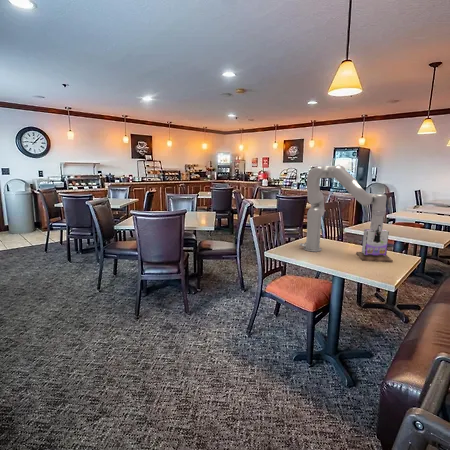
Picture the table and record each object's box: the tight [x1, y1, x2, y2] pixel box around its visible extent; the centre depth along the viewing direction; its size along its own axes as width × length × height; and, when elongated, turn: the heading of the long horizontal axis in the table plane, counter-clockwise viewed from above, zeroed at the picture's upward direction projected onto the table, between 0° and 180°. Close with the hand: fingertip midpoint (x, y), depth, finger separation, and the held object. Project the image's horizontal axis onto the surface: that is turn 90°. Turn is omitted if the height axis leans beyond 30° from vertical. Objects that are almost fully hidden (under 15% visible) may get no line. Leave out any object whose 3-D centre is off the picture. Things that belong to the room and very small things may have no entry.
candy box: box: [361, 228, 390, 255], centre depth 197 cm, size 14×6×16 cm, turn 84°
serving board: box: [355, 251, 393, 263], centre depth 198 cm, size 18×16×2 cm
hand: (375, 240), depth 196 cm, fingers closed on candy box, 6 cm apart
